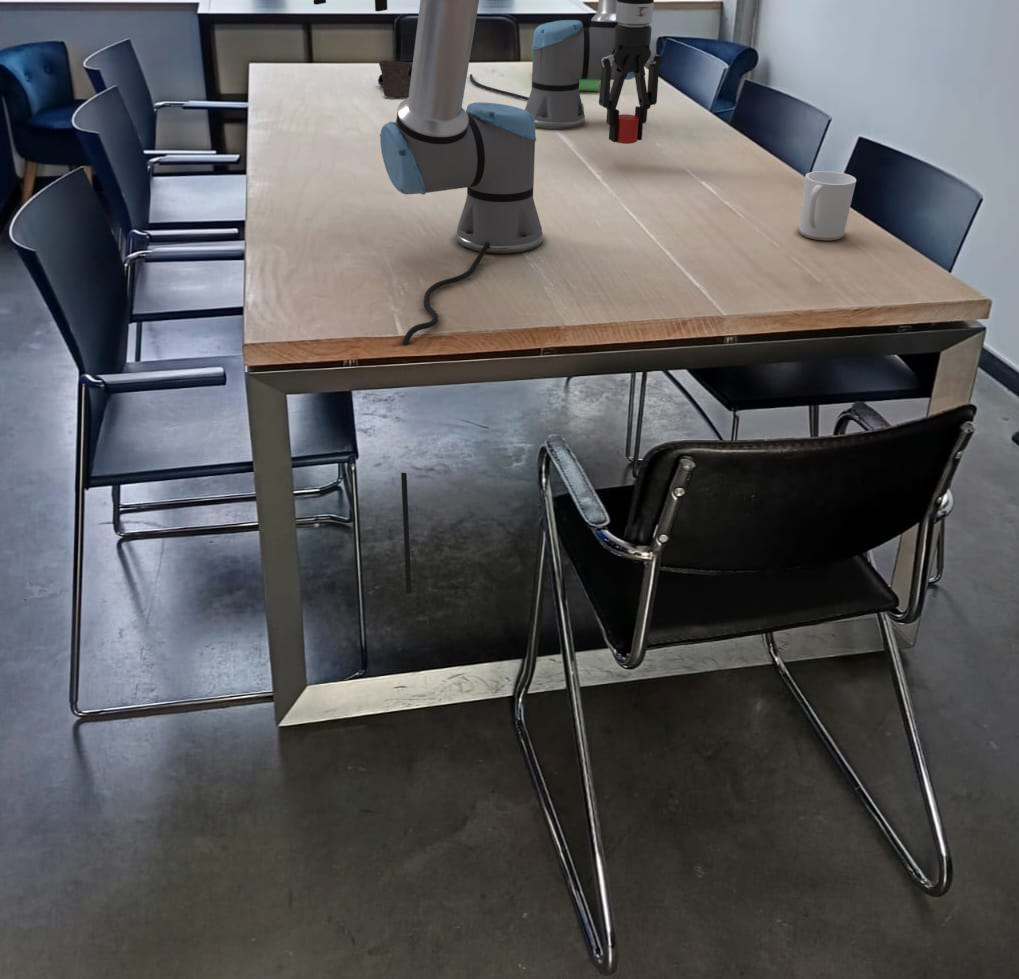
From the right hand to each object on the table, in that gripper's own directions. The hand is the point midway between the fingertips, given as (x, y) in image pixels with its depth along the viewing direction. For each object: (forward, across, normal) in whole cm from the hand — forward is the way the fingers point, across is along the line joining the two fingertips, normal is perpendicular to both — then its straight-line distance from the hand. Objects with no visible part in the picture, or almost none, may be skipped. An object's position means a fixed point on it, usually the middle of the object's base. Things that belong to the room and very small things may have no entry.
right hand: (625, 139), depth 237 cm
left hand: (-29, -61, -8) cm, 68 cm away
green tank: (+6, +22, +88) cm, 91 cm away
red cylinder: (0, 0, 0) cm, 0 cm away
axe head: (+6, -26, +86) cm, 90 cm away
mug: (+6, +15, -53) cm, 56 cm away
